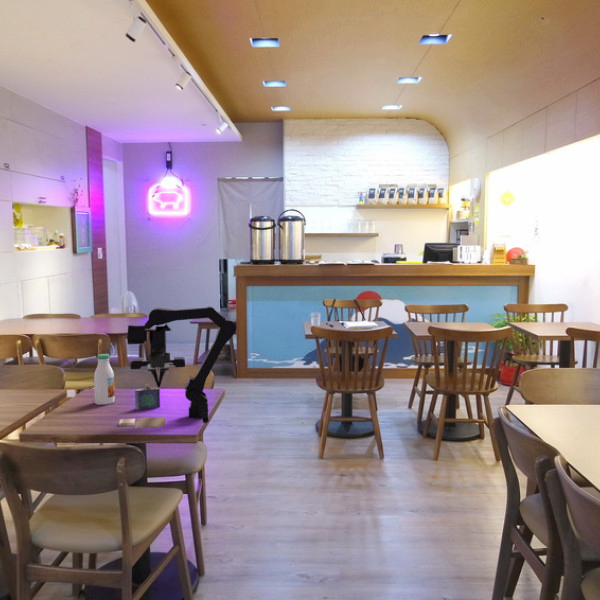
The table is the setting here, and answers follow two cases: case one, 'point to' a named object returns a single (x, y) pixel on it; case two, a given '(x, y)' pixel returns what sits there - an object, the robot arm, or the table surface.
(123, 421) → the coaster
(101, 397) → the milk bottle
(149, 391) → the flask
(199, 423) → the table surface
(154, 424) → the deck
